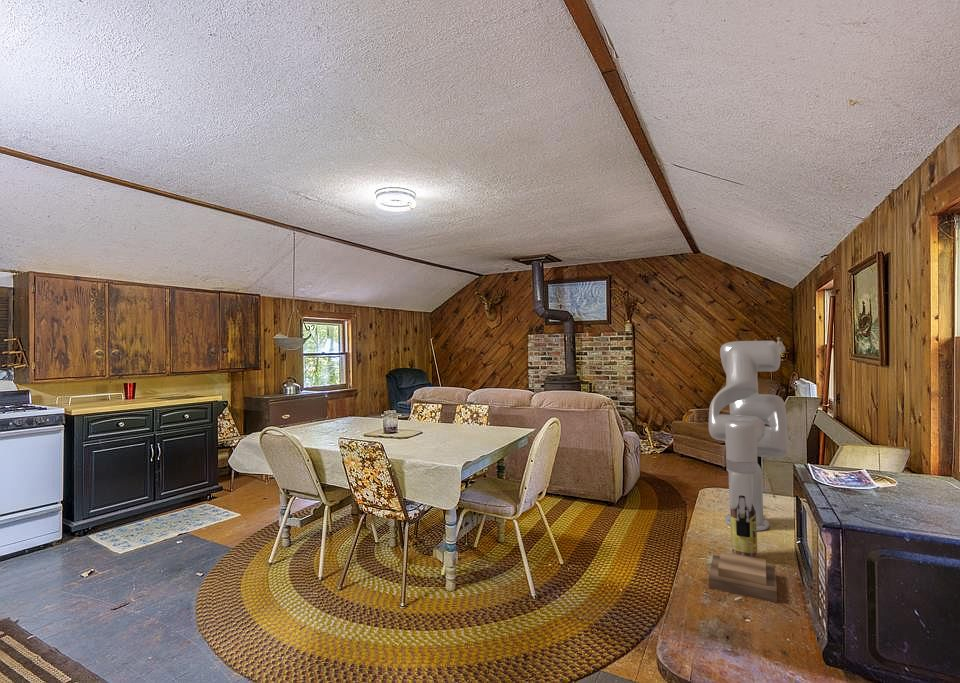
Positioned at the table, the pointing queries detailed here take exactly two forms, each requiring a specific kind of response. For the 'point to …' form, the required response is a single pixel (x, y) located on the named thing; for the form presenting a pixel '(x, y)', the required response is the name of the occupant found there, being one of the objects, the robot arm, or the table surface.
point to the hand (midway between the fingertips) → (743, 530)
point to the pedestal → (743, 576)
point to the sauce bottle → (744, 544)
